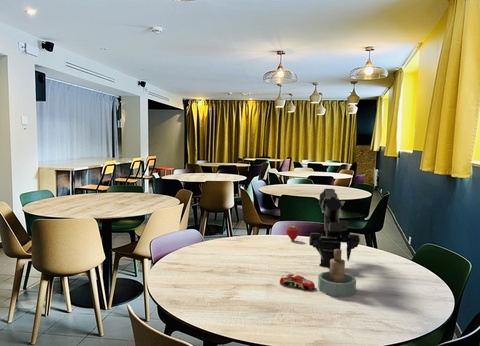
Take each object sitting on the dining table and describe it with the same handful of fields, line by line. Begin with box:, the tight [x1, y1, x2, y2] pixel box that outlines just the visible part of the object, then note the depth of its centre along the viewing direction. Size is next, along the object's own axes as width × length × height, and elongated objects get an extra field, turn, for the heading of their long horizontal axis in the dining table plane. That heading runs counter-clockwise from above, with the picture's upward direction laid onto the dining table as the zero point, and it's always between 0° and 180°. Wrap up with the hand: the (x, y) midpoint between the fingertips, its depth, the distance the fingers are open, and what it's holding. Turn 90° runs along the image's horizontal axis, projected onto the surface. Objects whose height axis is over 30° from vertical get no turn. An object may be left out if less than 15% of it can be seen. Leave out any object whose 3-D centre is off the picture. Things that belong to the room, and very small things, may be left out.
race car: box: [279, 273, 316, 291], centre depth 135 cm, size 13×5×4 cm, turn 62°
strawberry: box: [286, 225, 300, 242], centre depth 200 cm, size 6×8×10 cm
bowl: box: [317, 270, 357, 298], centre depth 132 cm, size 13×13×4 cm
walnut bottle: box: [329, 249, 346, 283], centre depth 132 cm, size 5×5×14 cm
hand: (335, 259), depth 136 cm, fingers open, 9 cm apart
